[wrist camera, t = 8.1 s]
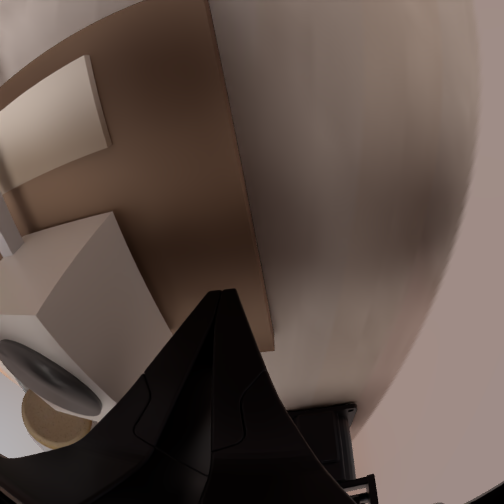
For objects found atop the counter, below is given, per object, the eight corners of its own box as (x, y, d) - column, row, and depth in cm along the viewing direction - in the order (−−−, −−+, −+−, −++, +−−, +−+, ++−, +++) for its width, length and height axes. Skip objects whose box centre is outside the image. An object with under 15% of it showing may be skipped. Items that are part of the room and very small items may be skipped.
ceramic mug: (103, 393, 19) (79, 470, 13) (110, 420, 24) (94, 479, 18) (8, 346, 18) (-23, 410, 11) (30, 383, 22) (9, 435, 16)
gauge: (172, 335, 12) (150, 435, 8) (51, 333, 12) (19, 400, 9) (74, 93, 6) (-58, 143, 2) (-39, 172, 7) (-107, 230, 3)
